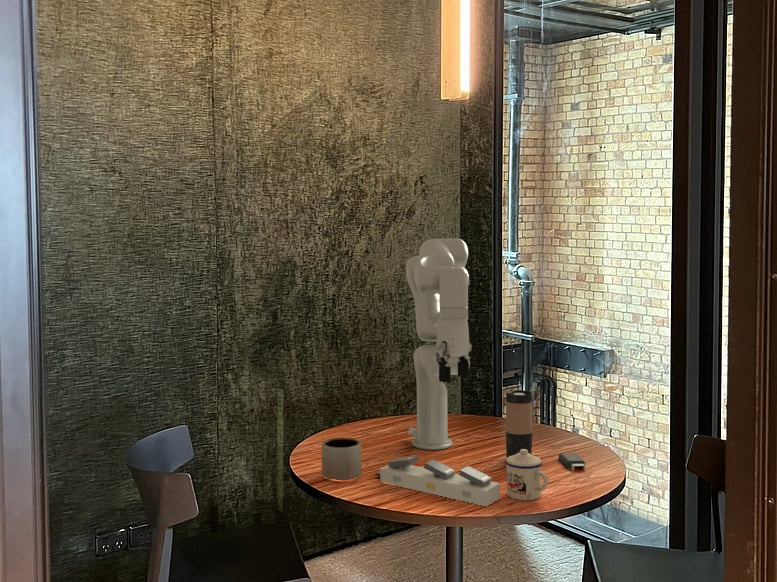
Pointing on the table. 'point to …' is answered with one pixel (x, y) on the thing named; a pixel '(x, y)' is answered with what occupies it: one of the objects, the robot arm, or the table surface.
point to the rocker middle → (439, 469)
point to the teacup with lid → (525, 476)
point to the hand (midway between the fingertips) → (454, 379)
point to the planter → (341, 458)
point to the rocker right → (475, 476)
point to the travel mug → (518, 422)
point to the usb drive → (572, 461)
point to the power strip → (440, 484)
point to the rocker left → (403, 461)
